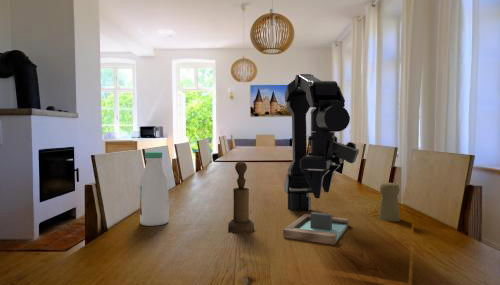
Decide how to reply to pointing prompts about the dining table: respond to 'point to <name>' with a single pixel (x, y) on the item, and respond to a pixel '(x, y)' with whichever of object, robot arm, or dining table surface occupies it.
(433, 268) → the dining table surface
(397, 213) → the cork
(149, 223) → the milk bottle
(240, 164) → the wooden pepper mill
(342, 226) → the cover plate
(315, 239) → the wooden tray
